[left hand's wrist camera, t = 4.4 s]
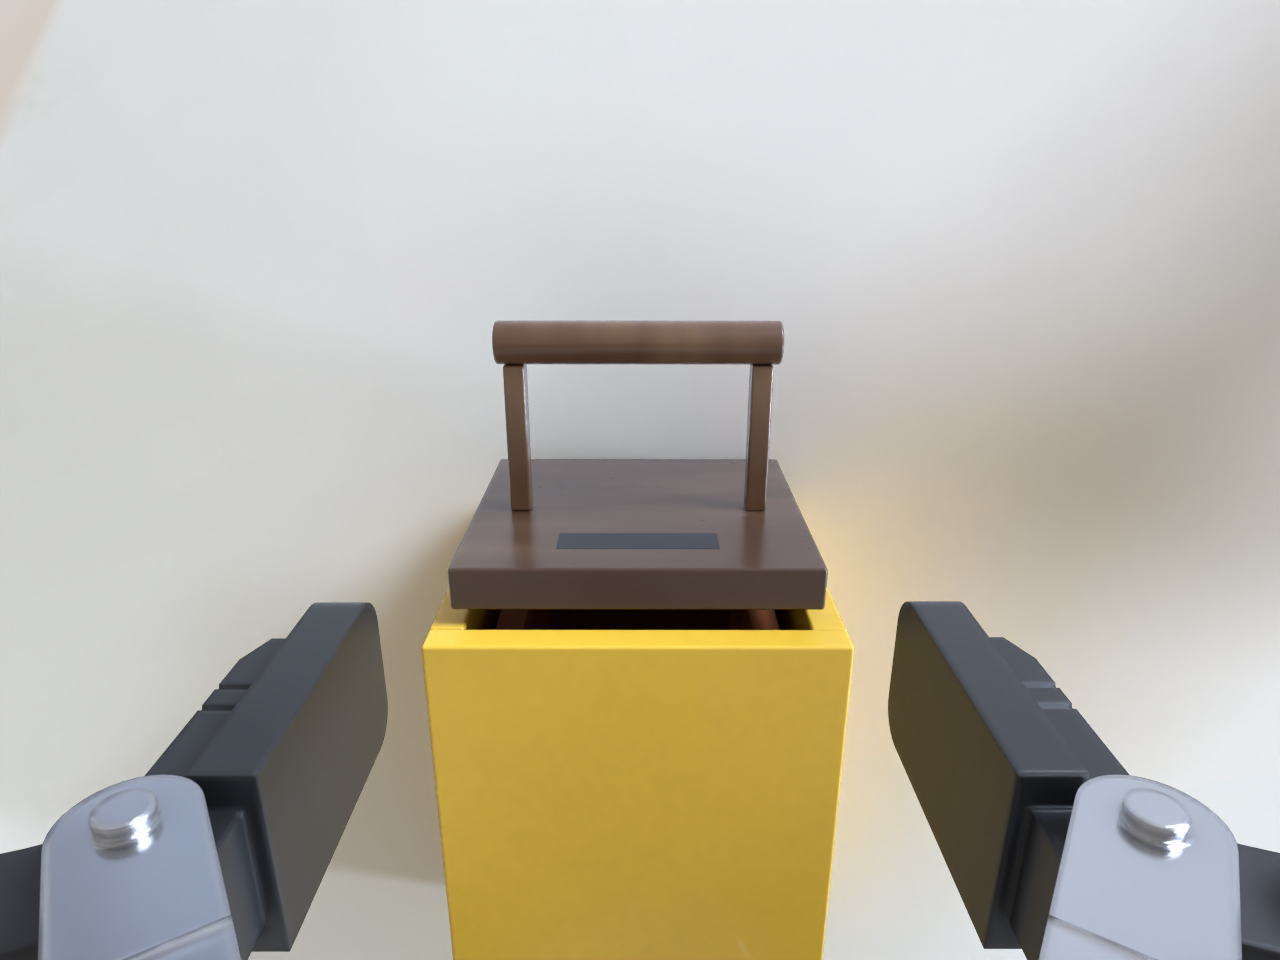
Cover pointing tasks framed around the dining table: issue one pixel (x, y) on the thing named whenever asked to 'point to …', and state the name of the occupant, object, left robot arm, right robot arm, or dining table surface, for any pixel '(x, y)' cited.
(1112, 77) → the dining table surface
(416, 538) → the dining table surface
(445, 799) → the yellow box
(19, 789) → the dining table surface
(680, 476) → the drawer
